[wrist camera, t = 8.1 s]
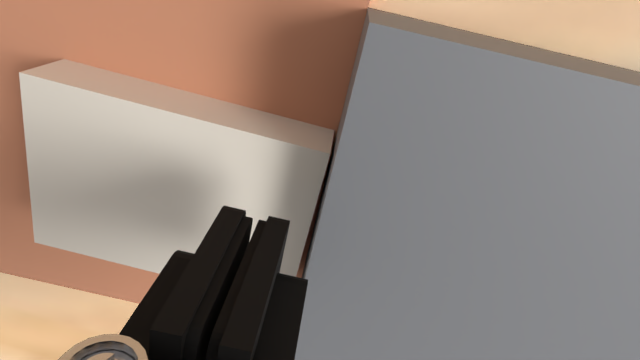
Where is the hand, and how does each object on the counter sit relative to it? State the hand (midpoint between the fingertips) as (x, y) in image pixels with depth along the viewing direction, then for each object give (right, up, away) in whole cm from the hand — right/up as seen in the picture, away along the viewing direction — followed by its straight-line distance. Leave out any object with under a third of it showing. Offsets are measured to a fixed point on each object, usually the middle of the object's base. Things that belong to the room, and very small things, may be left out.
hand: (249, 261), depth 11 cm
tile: (-3, +2, +4) cm, 6 cm away
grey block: (+10, 0, +5) cm, 11 cm away
